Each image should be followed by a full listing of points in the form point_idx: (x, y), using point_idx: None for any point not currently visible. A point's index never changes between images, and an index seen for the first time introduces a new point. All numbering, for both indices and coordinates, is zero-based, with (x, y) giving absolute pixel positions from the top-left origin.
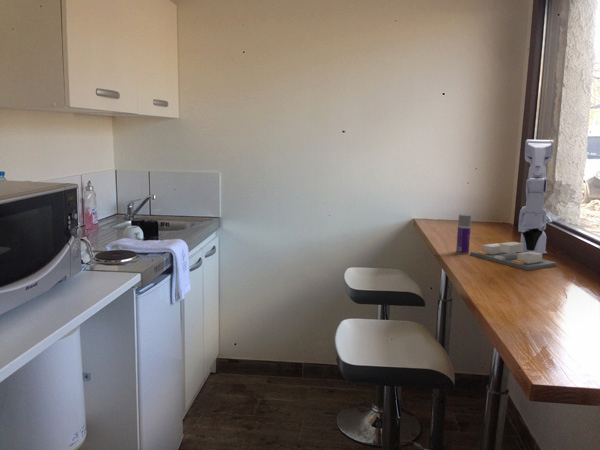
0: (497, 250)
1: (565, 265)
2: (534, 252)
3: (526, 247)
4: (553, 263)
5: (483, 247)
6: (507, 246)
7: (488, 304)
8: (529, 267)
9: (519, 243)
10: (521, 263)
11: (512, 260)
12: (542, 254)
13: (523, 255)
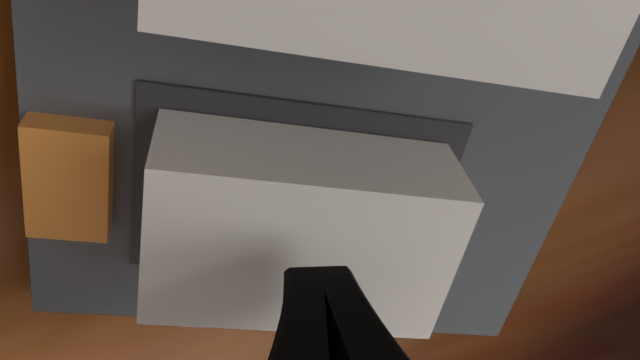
0: None
1: (570, 332)
2: (435, 255)
3: (287, 287)
4: (452, 329)
5: None
6: None
7: None
8: (61, 306)
9: (580, 19)
10: (56, 228)
11: None
12: (427, 331)
13: (141, 253)
